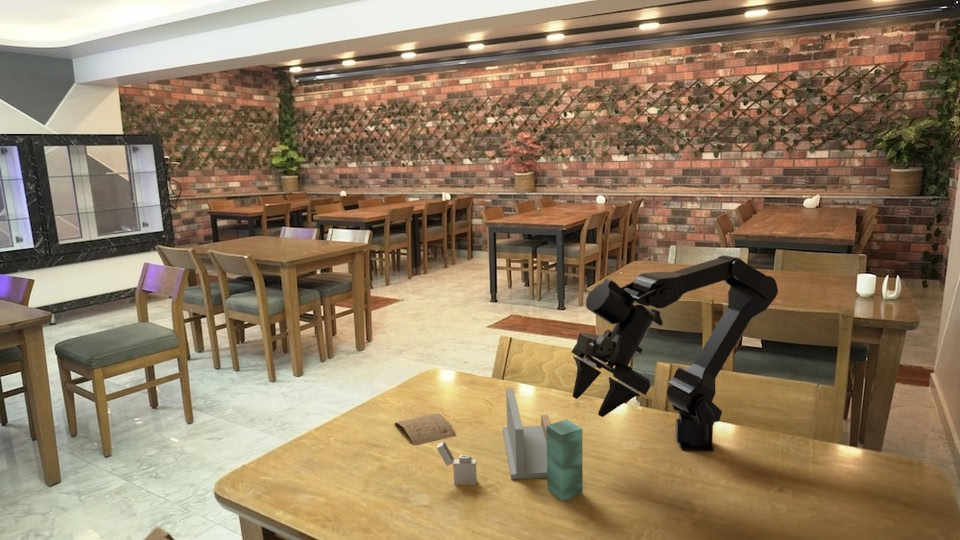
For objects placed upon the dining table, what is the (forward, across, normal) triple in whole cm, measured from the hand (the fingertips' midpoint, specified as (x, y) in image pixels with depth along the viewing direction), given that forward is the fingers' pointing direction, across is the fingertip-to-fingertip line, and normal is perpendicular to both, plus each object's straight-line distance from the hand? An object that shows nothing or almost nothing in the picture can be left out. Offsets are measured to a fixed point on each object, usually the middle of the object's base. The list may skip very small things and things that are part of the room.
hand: (586, 406), depth 114 cm
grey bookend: (+14, -11, +2) cm, 18 cm away
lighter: (+25, -6, -12) cm, 28 cm away
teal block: (+15, +5, +1) cm, 16 cm away
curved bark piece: (+25, -30, -12) cm, 41 cm away
